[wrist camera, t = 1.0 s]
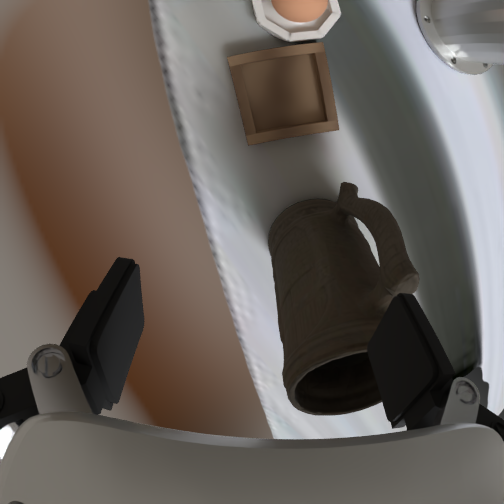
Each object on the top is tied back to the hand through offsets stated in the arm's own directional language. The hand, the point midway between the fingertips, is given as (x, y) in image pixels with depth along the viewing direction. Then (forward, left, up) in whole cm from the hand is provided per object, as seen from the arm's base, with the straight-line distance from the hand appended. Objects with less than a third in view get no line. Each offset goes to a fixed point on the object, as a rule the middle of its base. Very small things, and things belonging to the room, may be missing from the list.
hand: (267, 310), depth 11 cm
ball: (-7, -15, -22) cm, 28 cm away
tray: (-4, -6, -23) cm, 24 cm away
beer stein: (-5, +9, -23) cm, 26 cm away
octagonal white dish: (-7, -15, -23) cm, 29 cm away
